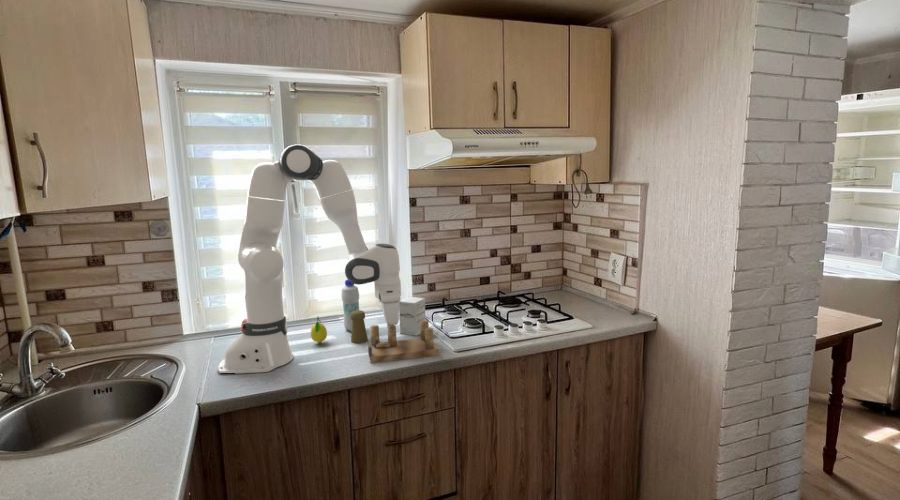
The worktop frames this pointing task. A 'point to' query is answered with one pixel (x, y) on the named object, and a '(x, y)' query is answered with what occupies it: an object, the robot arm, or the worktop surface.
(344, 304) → the bottle
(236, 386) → the worktop surface
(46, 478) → the worktop surface
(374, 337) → the wooden peg board
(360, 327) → the cork
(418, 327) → the supplement box
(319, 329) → the lemon
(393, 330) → the folding leg
